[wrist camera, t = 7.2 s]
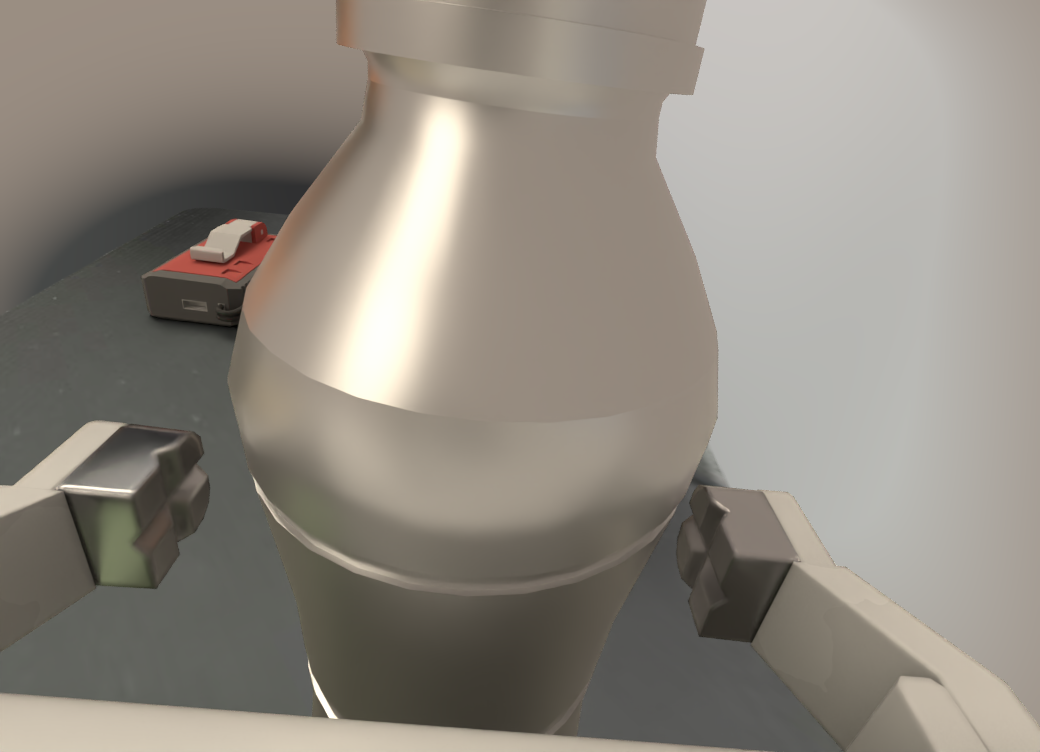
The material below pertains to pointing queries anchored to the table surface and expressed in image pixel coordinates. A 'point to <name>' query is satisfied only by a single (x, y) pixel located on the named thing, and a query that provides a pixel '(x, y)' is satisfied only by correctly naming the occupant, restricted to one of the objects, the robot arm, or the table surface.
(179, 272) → the walkie-talkie
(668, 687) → the table surface
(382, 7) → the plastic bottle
